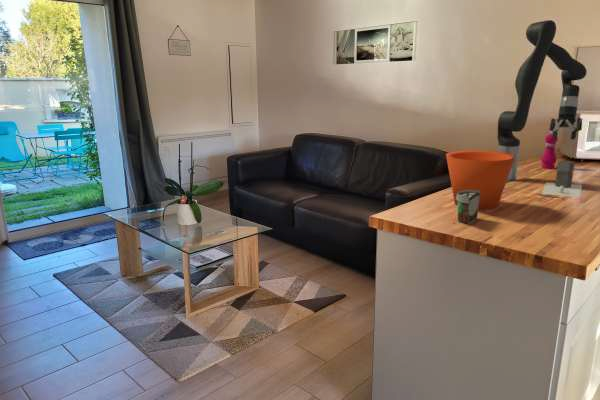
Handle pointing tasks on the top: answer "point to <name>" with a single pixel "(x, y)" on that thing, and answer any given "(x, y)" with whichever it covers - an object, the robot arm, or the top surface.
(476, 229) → the top surface
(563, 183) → the charcoal link
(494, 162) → the flowerpot
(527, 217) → the top surface
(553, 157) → the pepper mill
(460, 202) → the food container
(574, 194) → the plate
